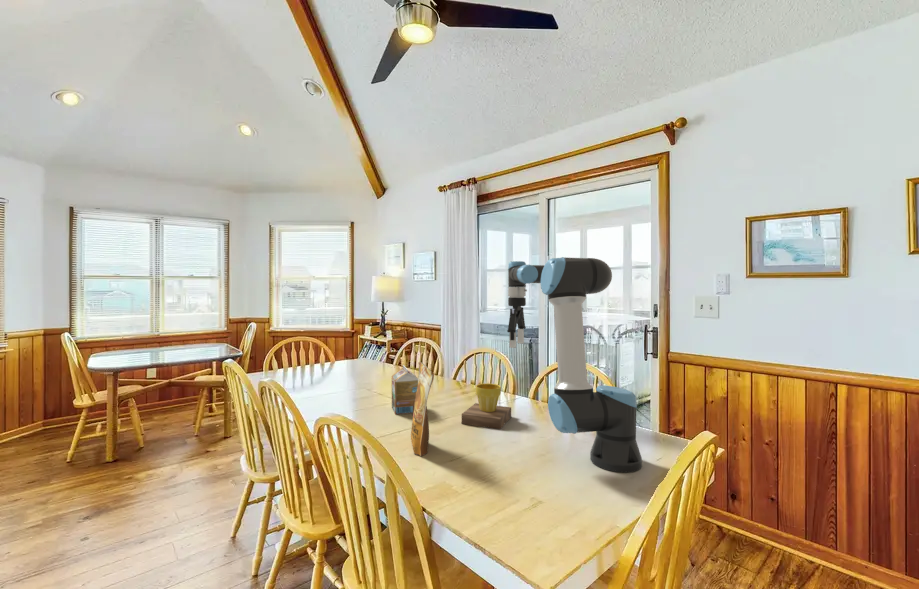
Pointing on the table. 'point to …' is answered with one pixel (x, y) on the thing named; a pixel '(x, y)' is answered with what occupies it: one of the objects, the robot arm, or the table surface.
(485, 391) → the plant pot
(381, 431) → the table surface
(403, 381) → the milk carton
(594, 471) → the table surface
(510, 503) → the table surface
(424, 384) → the pancake mix bag
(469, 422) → the block
